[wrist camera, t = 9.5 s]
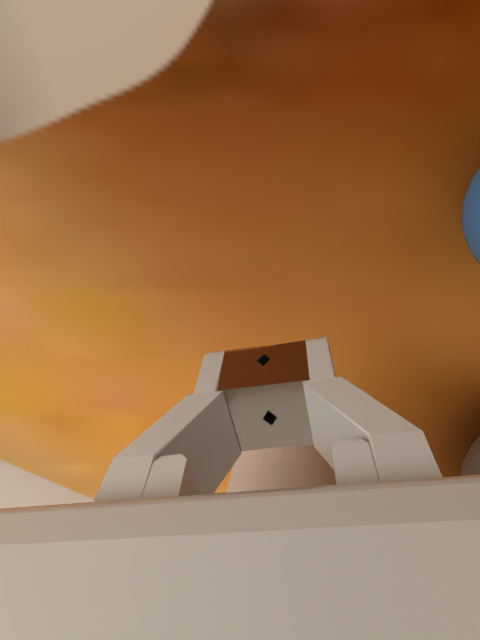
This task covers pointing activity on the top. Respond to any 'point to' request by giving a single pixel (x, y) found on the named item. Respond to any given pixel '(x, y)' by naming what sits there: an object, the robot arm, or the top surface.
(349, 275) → the top surface
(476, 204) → the ball
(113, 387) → the top surface
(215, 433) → the robot arm
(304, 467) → the coffee cup
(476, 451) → the coffee pot
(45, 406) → the top surface
